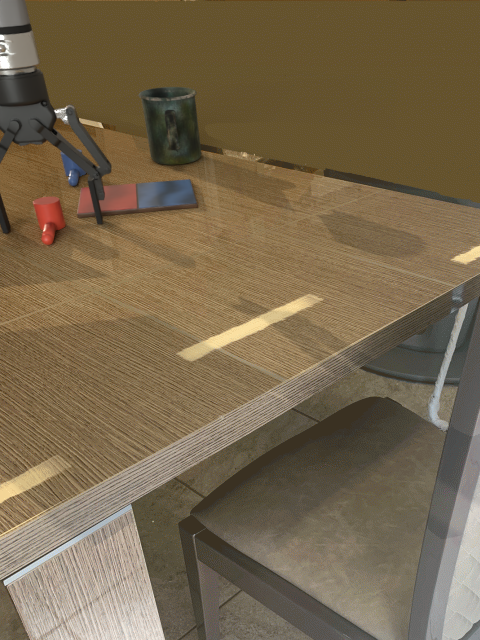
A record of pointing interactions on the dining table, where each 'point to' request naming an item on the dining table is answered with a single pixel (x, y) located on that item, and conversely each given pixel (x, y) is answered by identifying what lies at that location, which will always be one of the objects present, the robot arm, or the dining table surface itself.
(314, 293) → the dining table surface
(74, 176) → the blue knobbed cylinder
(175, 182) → the sorting board
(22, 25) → the robot arm
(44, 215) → the red cylinder with knob
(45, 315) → the dining table surface
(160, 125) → the mug
